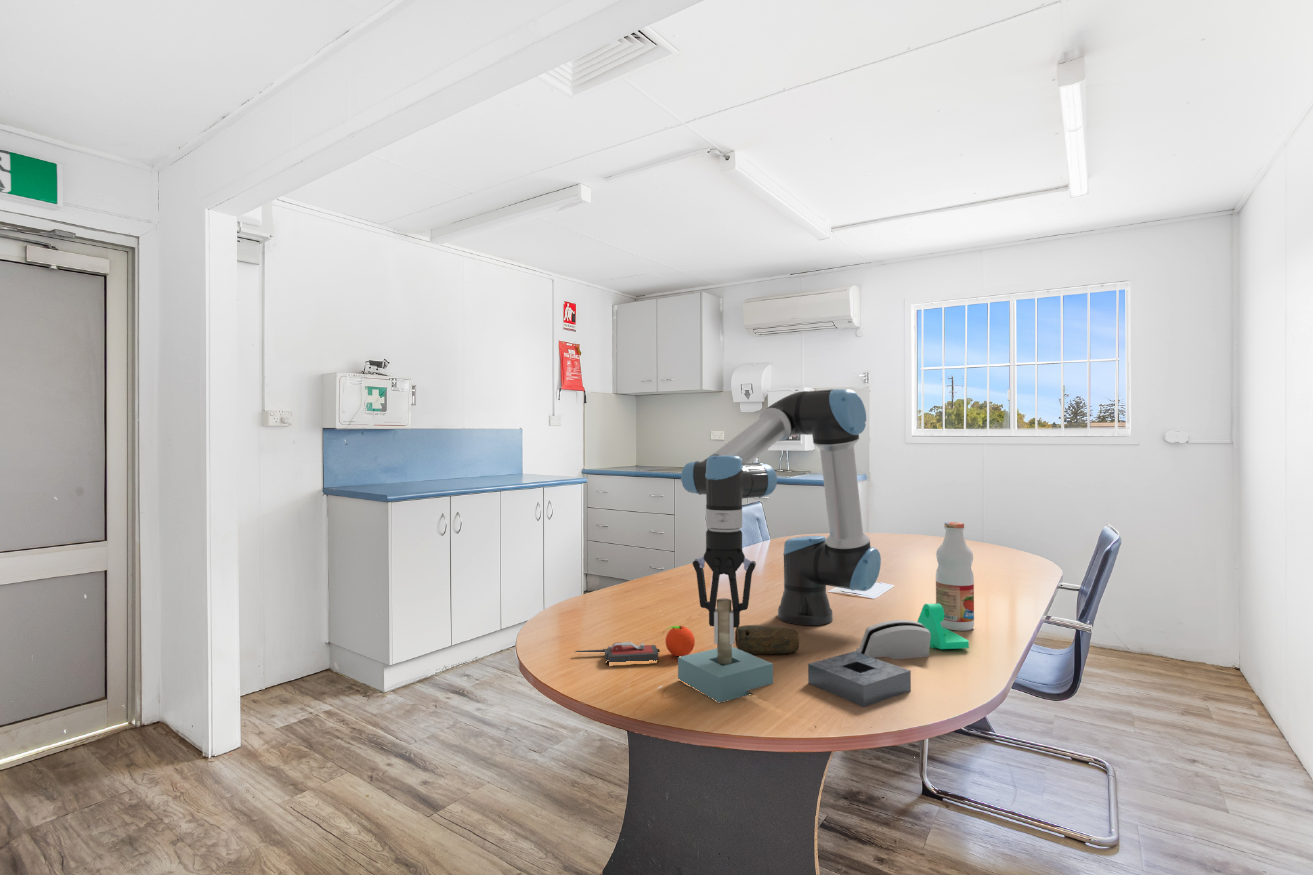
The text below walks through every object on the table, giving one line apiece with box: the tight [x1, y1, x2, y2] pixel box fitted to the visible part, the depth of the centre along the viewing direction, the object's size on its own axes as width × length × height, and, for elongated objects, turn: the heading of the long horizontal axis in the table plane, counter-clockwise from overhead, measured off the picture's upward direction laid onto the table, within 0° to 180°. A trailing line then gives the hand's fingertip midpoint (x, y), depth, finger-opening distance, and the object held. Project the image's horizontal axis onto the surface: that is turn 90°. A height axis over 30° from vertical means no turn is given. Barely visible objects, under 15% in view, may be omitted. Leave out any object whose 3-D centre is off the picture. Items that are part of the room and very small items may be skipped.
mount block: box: [807, 650, 912, 708], centre depth 130 cm, size 14×14×5 cm
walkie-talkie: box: [574, 641, 661, 662], centre depth 150 cm, size 9×4×20 cm
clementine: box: [662, 625, 696, 657], centre depth 152 cm, size 8×7×7 cm
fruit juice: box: [935, 521, 975, 632], centre depth 175 cm, size 9×9×28 cm
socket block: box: [677, 646, 774, 703], centre depth 134 cm, size 14×14×5 cm
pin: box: [716, 598, 733, 665], centre depth 134 cm, size 3×3×13 cm
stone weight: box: [734, 624, 800, 655], centre depth 154 cm, size 15×7×7 cm, turn 96°
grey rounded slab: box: [855, 619, 931, 660], centre depth 150 cm, size 17×5×10 cm, turn 103°
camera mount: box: [916, 603, 970, 650], centre depth 160 cm, size 12×8×10 cm, turn 6°
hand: (724, 641), depth 134 cm, fingers closed on pin, 2 cm apart
